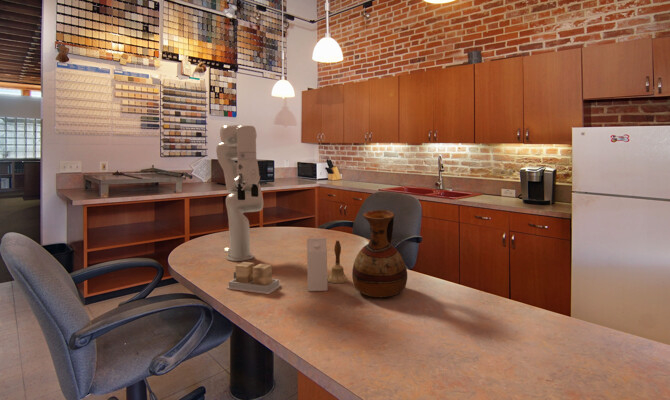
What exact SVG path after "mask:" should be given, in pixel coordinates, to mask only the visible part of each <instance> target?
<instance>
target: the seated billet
mask: <svg viewBox="0 0 670 400" xmlns="http://www.w3.org/2000/svg"><path fill="white" fill-rule="evenodd" d="M272 268H273V267H272V264H267V263H259V264H256V265H254V267H253V284H256V285H264V286H268V285H269V284H271V283H272V279H273V271H272V270H273V269H272Z"/></svg>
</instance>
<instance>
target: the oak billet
mask: <svg viewBox="0 0 670 400" xmlns="http://www.w3.org/2000/svg"><path fill="white" fill-rule="evenodd" d="M234 266H235V272H236V282H240V283H250V282H252V281H253V267H255V262H249V261H248V262H246V261H241V262H240V263H238V264H235V265H234Z"/></svg>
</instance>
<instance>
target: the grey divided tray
mask: <svg viewBox="0 0 670 400" xmlns="http://www.w3.org/2000/svg"><path fill="white" fill-rule="evenodd" d="M281 287H282V285H281V284H280V279H278V278H272V283H271V284H269V285H268V286H264V285H256V284H253V281H252V282H250V283H240V282H236V278H235V279H234V278H233V279H231V280H229V281H228V286H227V287H226V289H229V290H235V291H244V292H250V293H258V294H264V295H265V294H266V295H270V294H272V293H273V292H275V291H276V290H277V289H279V288H281Z"/></svg>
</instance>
